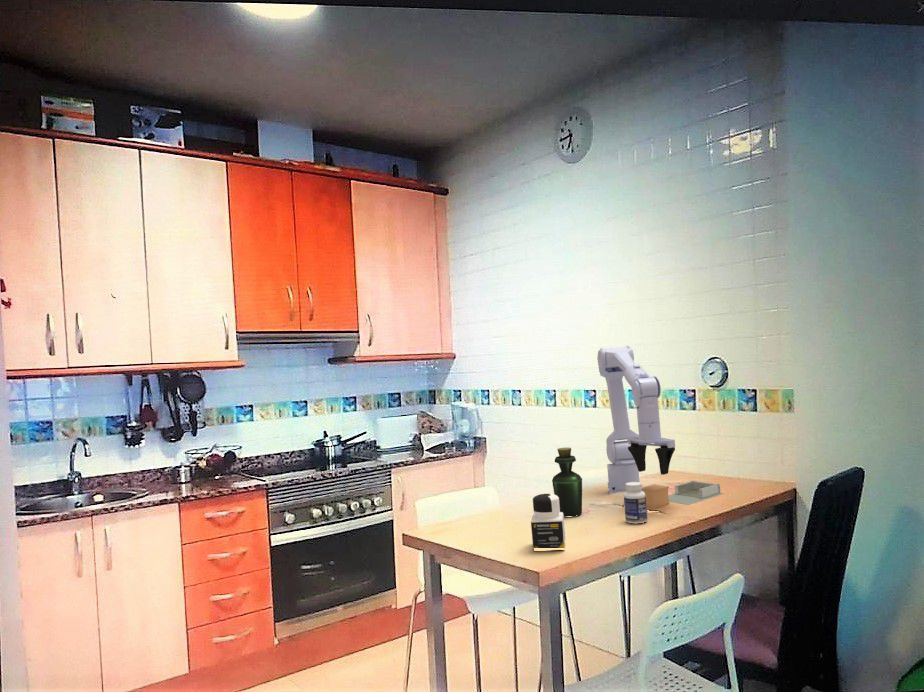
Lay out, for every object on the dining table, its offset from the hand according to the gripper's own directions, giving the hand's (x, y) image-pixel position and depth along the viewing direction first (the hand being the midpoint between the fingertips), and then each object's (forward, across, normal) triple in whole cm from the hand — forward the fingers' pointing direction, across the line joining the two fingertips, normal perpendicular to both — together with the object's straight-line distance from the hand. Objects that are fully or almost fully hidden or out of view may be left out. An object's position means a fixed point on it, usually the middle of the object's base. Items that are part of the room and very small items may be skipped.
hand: (653, 472), depth 181 cm
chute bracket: (+9, +1, +16) cm, 18 cm away
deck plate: (+10, +1, +13) cm, 16 cm away
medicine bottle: (+10, +3, -41) cm, 42 cm away
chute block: (+10, 0, 0) cm, 10 cm away
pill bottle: (+10, +4, -13) cm, 17 cm away
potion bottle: (+10, -15, -18) cm, 25 cm away
